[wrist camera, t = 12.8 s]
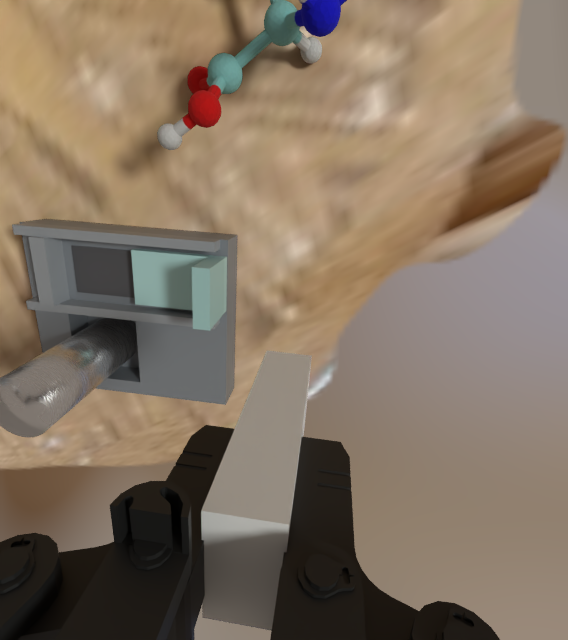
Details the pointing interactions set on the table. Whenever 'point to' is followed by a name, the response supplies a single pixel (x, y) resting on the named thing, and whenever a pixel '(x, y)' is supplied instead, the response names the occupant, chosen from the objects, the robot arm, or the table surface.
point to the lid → (182, 283)
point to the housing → (131, 304)
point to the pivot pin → (64, 376)
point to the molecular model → (227, 70)
